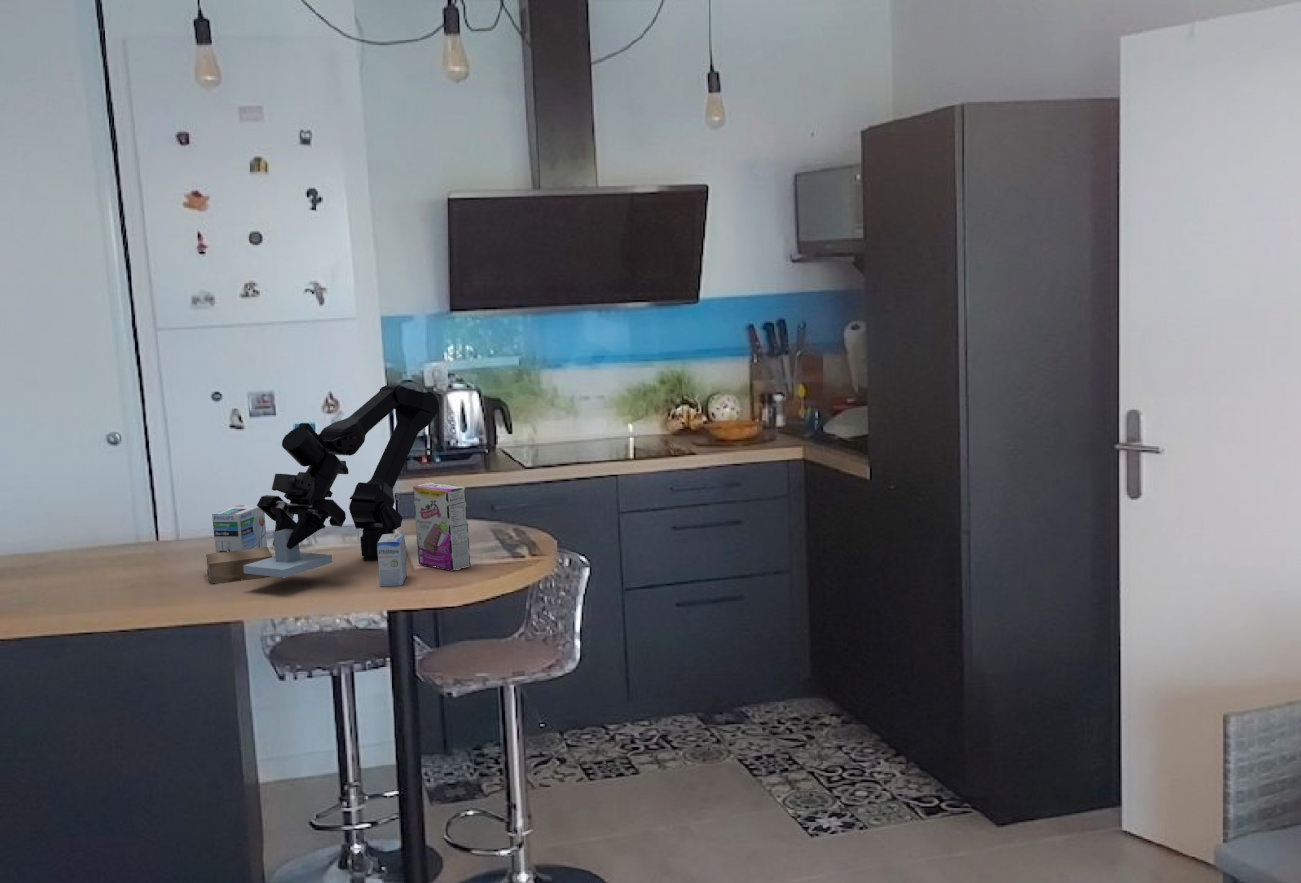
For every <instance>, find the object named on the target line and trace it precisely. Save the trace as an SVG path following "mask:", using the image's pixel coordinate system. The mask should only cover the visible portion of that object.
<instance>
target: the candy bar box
mask: <svg viewBox="0 0 1301 883" xmlns="http://www.w3.org/2000/svg"><path fill="white" fill-rule="evenodd" d="M412 491H413V492H412V493H413V505H414V519H415V531H416V532H415V533H416V544H417V556H418V557H417V558H418V565H419V564H420V566H424V565H426V566H425V567H429V566H436V567H439V568H444V569H449V570H456V569H459V568H462V567H466V566H470V567H471V554H470V552H471V551H470V540H469V527H468V526H469V525H468V515H467V514H468V513H467V512H468V511H467V510H468V509H467V499H466V498H467V496H466V487H464V486H457V485H450V484H443V483H436V482H427V483H422V484H416V485H413V486H412ZM439 568H438V569H439ZM444 569H443V570H444ZM449 570H448V571H449Z"/></svg>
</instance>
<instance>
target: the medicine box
mask: <svg viewBox="0 0 1301 883" xmlns="http://www.w3.org/2000/svg"><path fill="white" fill-rule="evenodd" d="M405 538H406V537H405V533H395V534H383V535H382V536H381V538H380V540H379V541H378V543H377V551H378V559H377V562H378V564H377V565H378V577H379V586H380V587H382V588H383V587H399V586H403V585H404V583H405V580H406V577H407V575H408V571H407V570H408V569H407V554H406V552H407V551H406V550H407V549H406V539H405Z"/></svg>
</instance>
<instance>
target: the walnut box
mask: <svg viewBox="0 0 1301 883" xmlns="http://www.w3.org/2000/svg"><path fill="white" fill-rule="evenodd" d="M205 555H206V556H205V557H206V566H207V569H206V573H207V574H206V575H207V577H208V581H209V584H210V585H213V583H215V584H221V583H227V582H229V583H230V582H237V581H236V580H238V581H242V580H241V579H246V580H251V579H252V580H253V579H259V578H260V577H261V578H267V576H264V575H255V574H246V573H244V567H243V566H244V565H247V564H250V563H254V562H257V561H261V560H264V559H267V558H271V557H273V555H272V553H271V551H270V549H269V547H268V546H267V547H263V548H254V549H246V550H238V551H229V552H221V553H216V552H215V553H213V552H212V553H207V554H205Z"/></svg>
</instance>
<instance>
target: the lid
mask: <svg viewBox="0 0 1301 883" xmlns="http://www.w3.org/2000/svg"><path fill="white" fill-rule="evenodd" d="M292 532H293V530H292V529H284V530H280V531H276V532H275V531H273V533H272V534H273V540H274V546H273V547H274V556H272V557H271V558H267V559H264V560H261V561H257V562H254V563H250V564H247V565H244V566H243V567H244V573H246V574H255V575H264V576H269V577H275V578H283V579H285V578H289V577H291V576H294V575H298V574H301V573H304V572H307V571H310V570H313V569H316V568H320V567H322V566H323V567H324V566H326V565H328V564H332V563H333V556H332V554H326V553H325V554H324V553H315V552H314V553H313V552H303V551H300V543H299V544H298V545H296V546H295V547H293V548H292V549H288V548H287V543H288V540H289V538H290V536H291V534H292Z"/></svg>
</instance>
